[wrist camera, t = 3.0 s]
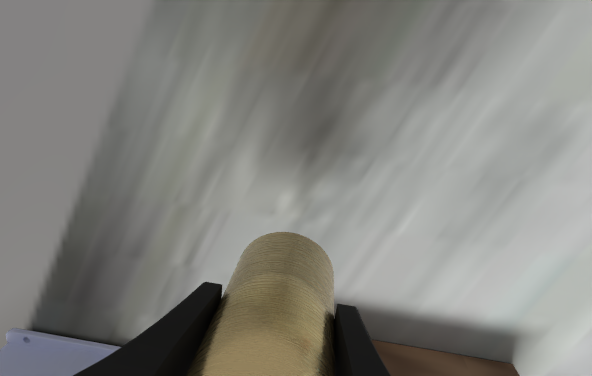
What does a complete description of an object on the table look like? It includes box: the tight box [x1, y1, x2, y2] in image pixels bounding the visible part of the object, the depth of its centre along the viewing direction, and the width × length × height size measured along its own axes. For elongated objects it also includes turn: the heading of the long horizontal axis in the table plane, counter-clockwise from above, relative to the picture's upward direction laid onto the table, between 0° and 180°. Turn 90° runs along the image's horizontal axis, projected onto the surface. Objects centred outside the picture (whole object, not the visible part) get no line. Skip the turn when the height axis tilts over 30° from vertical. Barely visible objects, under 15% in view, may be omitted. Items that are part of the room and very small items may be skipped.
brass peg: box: [186, 232, 335, 376], centre depth 10 cm, size 4×4×8 cm
